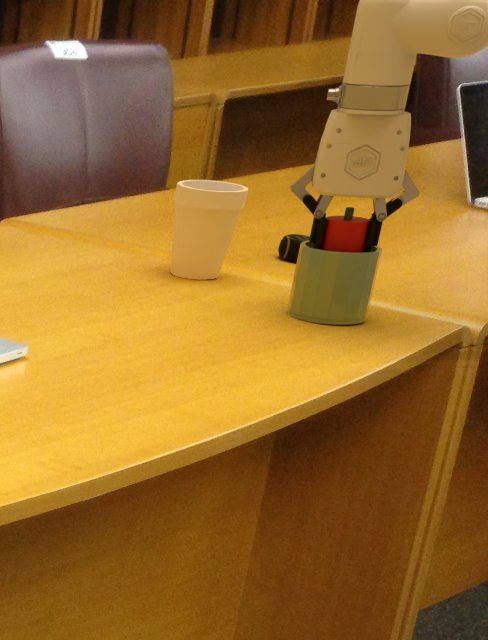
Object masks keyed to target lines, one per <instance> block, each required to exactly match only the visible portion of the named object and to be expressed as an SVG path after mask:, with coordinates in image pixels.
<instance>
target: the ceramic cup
mask: <svg viewBox="0 0 488 640" xmlns="http://www.w3.org/2000/svg"><path fill="white" fill-rule="evenodd" d="M313 246H314V243H310V242H309V240H308V241H303V242H302V243H301V244H300V249H299V253H298V258H297V262H295V263H296V264H295V268H294V274H293V280H292V283H291V289H290V294H289V299H288V304H287V312H286V313H287V315H288V316H290V317H291V318H294V319H296V320H299V321H303V322H307V323H313V324H322V325H334V326H346V325H347V326H348V325H357V324H361V323H364V322H365V321H366V320H367V316H368V314H369V311H370V310H369V308H370V305H371V300H372V295H373V291H374V286H375V283H376V277H377V275H378V269H379V265H380V261H381V256H382V252H383V249H382V248H381V247H380V246H378V245H377V246H372V249H371V252H362V253H350V252H335V251H326V250H320V249H315V248H313Z"/></svg>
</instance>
